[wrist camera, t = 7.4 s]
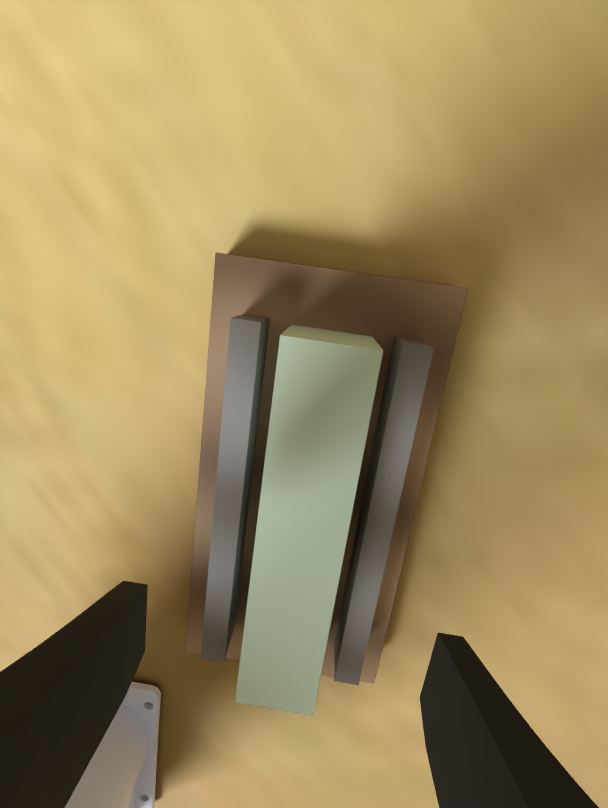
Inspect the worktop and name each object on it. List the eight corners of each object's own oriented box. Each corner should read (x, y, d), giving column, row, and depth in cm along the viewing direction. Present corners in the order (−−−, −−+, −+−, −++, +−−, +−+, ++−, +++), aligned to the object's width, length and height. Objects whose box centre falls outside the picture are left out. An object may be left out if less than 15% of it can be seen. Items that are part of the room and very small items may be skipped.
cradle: (371, 656, 21) (378, 726, 18) (195, 627, 21) (169, 690, 18) (455, 288, 16) (487, 288, 13) (225, 255, 17) (198, 247, 13)
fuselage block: (316, 641, 19) (312, 715, 16) (251, 630, 19) (234, 702, 16) (372, 336, 15) (383, 350, 12) (291, 324, 16) (280, 335, 12)
